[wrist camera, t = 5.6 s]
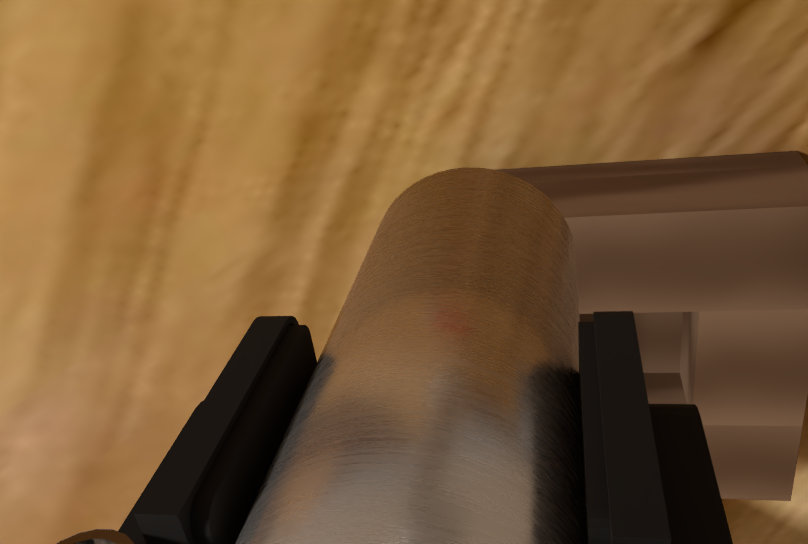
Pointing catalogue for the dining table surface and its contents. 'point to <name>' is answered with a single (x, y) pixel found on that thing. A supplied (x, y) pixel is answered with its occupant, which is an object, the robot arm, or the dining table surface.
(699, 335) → the walnut socket block
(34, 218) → the dining table surface
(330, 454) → the steel peg
